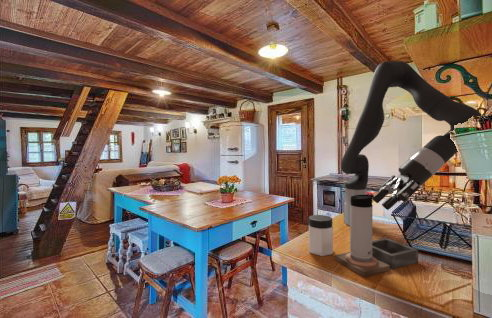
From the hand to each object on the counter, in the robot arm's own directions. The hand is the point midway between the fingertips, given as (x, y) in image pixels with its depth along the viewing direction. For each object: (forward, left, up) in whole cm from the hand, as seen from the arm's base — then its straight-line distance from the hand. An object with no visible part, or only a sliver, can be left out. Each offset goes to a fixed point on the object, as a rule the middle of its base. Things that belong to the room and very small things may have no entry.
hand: (379, 204), depth 76 cm
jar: (-16, -9, -20) cm, 27 cm away
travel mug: (-3, -4, -17) cm, 18 cm away
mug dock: (-3, +1, -19) cm, 20 cm away
